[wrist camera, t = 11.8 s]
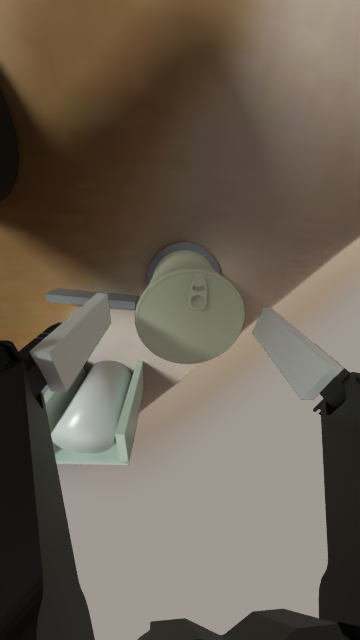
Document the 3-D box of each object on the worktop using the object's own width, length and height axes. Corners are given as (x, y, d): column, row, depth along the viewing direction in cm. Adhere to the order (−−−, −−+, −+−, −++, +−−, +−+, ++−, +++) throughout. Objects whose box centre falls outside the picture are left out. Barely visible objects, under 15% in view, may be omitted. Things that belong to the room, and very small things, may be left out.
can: (221, 255, 21) (267, 278, 10) (207, 314, 25) (229, 371, 15) (153, 245, 20) (130, 260, 10) (151, 308, 25) (133, 365, 14)
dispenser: (52, 288, 23) (-64, 341, 12) (142, 296, 24) (112, 353, 13) (84, 389, 35) (41, 463, 24) (143, 392, 36) (128, 464, 25)
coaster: (147, 237, 20) (146, 237, 20) (228, 247, 21) (229, 247, 20) (147, 311, 25) (146, 313, 25) (211, 317, 26) (212, 318, 26)
